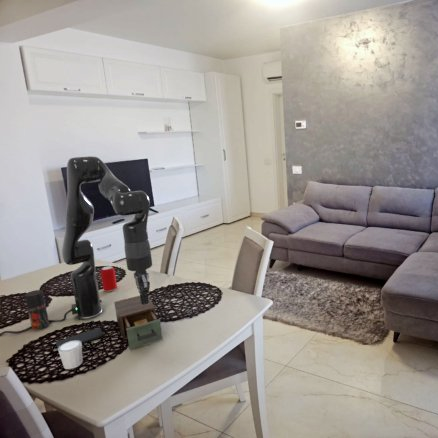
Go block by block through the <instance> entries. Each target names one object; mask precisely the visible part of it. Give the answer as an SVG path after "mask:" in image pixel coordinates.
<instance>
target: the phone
mask: <svg viewBox="0 0 438 438" xmlns="http://www.w3.org/2000/svg"><path fill="white" fill-rule="evenodd" d="M102 337H104V331H102V329H101V328H100V327H96V328H93V329H90V330H87V331H84V332H81V333H78V334H75V335H72V336H69V337H66V338H62V339H60V340H57V341H56V342H55V345H56V348H57V349H58V348H59V346H61V345H62V344H64V343H66V342H69V341H74V340H79V341H81V343H82V344H85V343H87V342H91V341H93V340H97V339H100V338H102Z"/></svg>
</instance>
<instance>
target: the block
mask: <svg viewBox="0 0 438 438" xmlns="http://www.w3.org/2000/svg"><path fill="white" fill-rule="evenodd" d="M144 323H147V320H146V319H144V320H140V321H137V322H134V326H137V325H140V324H144Z"/></svg>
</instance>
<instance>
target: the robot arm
mask: <svg viewBox="0 0 438 438" xmlns="http://www.w3.org/2000/svg"><path fill="white" fill-rule="evenodd" d="M96 182H98V189H99V190H98V191H99V192H100V194H101V195H102V196H103V197H104V198H105V199H106V200H108V201H109V202H110V204H111V206H112V208H113V211H114V212H115V214H117V216H120V217H128V216H132V215H134V217H133V219H131V220H129V221H127V222H125V223H124V224H123V225H122V234H123V241H124V253H125V254H124V255H125V262H126V268H127V270H128V271H130V272H133V278H134V280H135V285H136V289H137V290H138V294H139V296H140V299H141V303H142V305H145V304H148V303H149V300H148V297H149V293H150V287H151V282H150V280H149V279H150V275H149V272H148V271H147V270H148V269H151V268H152V266H153V259H152V252H151V244H150V241H149V235H148V233H149V232H148V219H149V213H150V207H151V201H150V197H149V196H148V194H147V193H146V192H145V191H143V190H134V191H132V190H131V189H130V187H129V186H128V185H126V184H125V183H124V182H123V181H121V180H120V179H119V178H117V177H116V176H115V175H114V174H113V172H112V171H111V170H110V169H109V167H108V166H107V165H106V163H105V162H104V161H103V160H102V159H101V158H100V157H97V156H92V155H91V156H90V155H89V156H75V157H71V158H69V159H68V161H67V165H66V183H67V185H66V186H67V194H66V195H67V196H66V197H67V198H66V209H65V229H64V236H63V241H62V248H61V256H62V260H63V262H64V263H65V264H66V265H68V266H73V265H78V264H80V266H79V267H77V268H76V269H74V270H72V272H70V279H71V285H72V290H73V295H74V302H75V303H73V304H71V309H69V310H68V311H66V312H65V313H64V315H63V318H62V319H59V320H55V319H48V320H49V323H57V322H64V321H65V320H66V319H67V315H68V314H70V313H72V316H73V315H77V319H78V320H79V321H80V320H89V319H93V318H96V317H98V316H100V315H101V314H102V313H103V309H102V308H103V307H102V303H103V301H102V300H101V297H100V291H99V284H98V278H97V272H96V269H97V268H96V261H95V251H94V247H93V244H92V242H91V241H90V240H89V239H81V238H82V236H83V235H84V234H85V233H86V232H87V231H88V230H89V229H90V228H91V226H92V224H93V221H94V214H95V209H94V208H95V207H94V205H93V203H92V202H91V200H90V199H89V198H87V196H86V195H85V194H84V193H83V192H82V190H81V189H82V187H81V186H82V184H88V183H96ZM80 239H81V240H80ZM30 329H31V330H32V327H31V326H28V327H27V328H24V329H21V330H16V331H14V330H4V331H2V332H0V337H2V335H4V334H20V333H23V332H26V331H29V330H30Z"/></svg>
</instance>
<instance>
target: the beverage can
mask: <svg viewBox="0 0 438 438" xmlns="http://www.w3.org/2000/svg"><path fill="white" fill-rule="evenodd" d="M100 277H101V282H102V288H103V289H102V290H103V291H105V292H109V293H110V292H114V291H115V290H116V289H117V288H118V285H117V284H118V283H117V278H116V271H115V268H114V267H113V266H112V265H108V266H104V267H102V268H101V270H100Z"/></svg>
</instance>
